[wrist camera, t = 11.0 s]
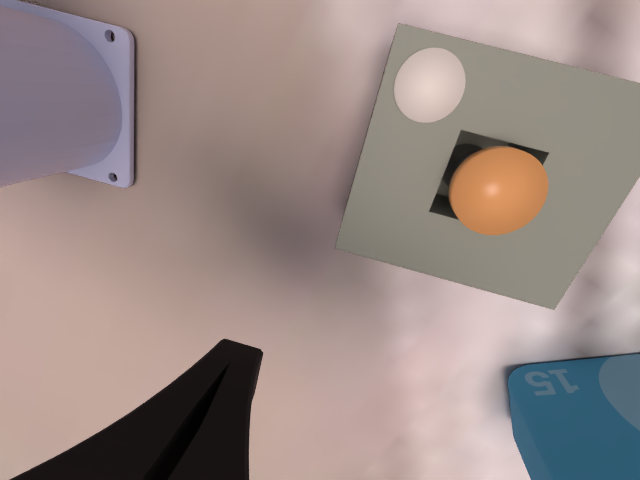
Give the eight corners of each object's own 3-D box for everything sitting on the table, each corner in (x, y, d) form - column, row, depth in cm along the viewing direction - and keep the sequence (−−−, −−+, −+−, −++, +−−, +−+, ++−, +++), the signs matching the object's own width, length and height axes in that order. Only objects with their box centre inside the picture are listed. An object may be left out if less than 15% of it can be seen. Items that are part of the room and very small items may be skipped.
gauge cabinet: (344, 211, 18) (334, 250, 14) (391, 45, 15) (398, 21, 10) (508, 256, 18) (556, 312, 13) (592, 96, 15) (697, 95, 10)
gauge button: (421, 188, 15) (439, 222, 11) (444, 126, 14) (473, 138, 10) (481, 204, 15) (521, 244, 11) (509, 143, 14) (566, 162, 10)
